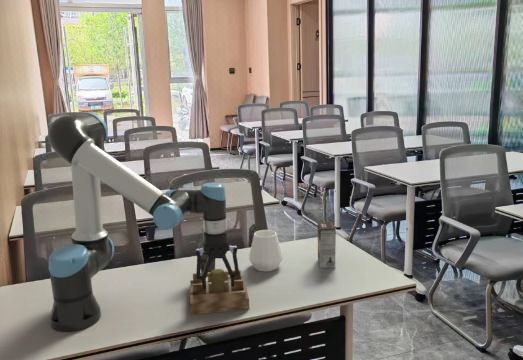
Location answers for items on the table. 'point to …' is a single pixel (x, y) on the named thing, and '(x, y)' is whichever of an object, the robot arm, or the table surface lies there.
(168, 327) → the table surface
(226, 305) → the rack
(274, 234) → the cup
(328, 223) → the coffee box
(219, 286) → the olive green pawn
